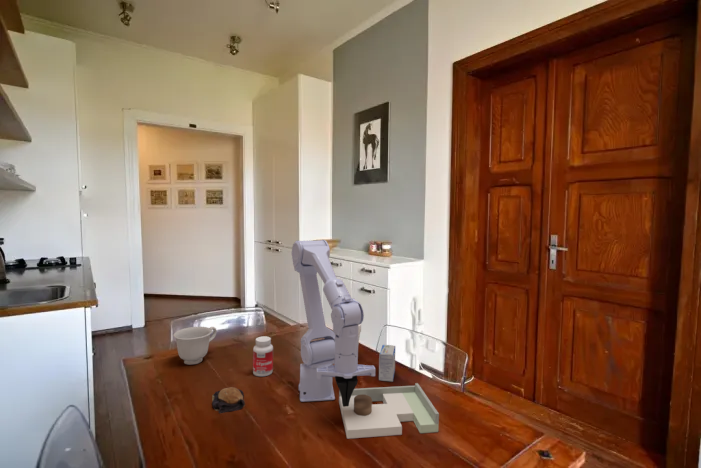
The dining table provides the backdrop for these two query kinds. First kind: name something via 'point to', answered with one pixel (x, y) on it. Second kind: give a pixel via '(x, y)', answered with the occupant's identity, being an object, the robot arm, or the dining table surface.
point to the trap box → (390, 412)
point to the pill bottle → (263, 357)
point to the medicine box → (387, 363)
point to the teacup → (193, 343)
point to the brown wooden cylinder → (362, 405)
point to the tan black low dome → (228, 400)
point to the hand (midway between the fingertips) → (345, 404)
